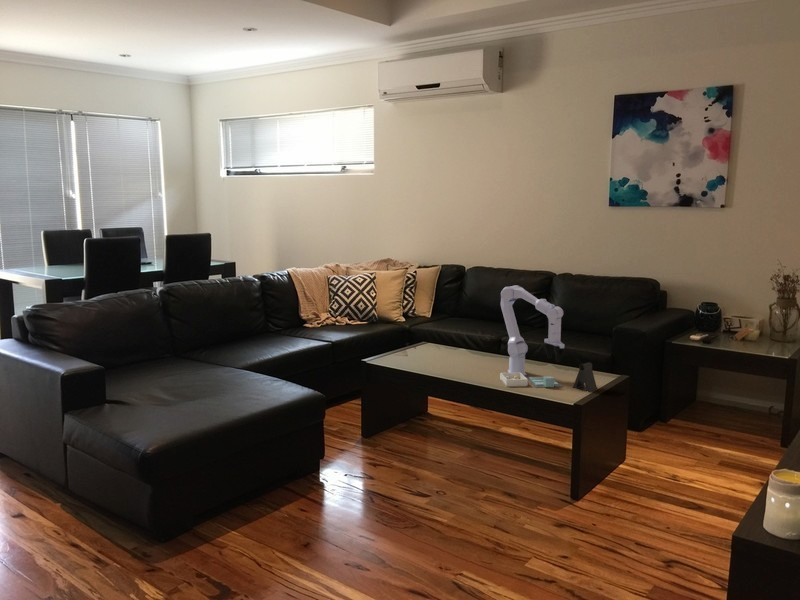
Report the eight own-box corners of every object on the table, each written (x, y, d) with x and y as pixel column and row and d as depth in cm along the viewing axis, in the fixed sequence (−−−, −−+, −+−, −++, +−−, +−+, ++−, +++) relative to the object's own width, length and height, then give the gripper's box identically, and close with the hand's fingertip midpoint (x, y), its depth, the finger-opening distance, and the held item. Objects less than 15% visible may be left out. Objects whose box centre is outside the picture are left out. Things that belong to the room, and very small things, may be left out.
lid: (528, 377, 328) (528, 369, 327) (550, 377, 328) (550, 369, 328) (538, 387, 311) (538, 378, 310) (560, 386, 312) (561, 378, 311)
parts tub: (500, 379, 326) (500, 372, 326) (520, 378, 327) (520, 372, 327) (506, 386, 314) (506, 379, 313) (527, 386, 314) (527, 379, 314)
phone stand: (572, 388, 311) (573, 362, 309) (580, 385, 315) (581, 360, 313) (589, 392, 304) (590, 366, 302) (597, 389, 308) (598, 364, 306)
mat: (525, 377, 329) (525, 377, 329) (551, 377, 330) (551, 376, 330) (535, 387, 312) (535, 387, 312) (563, 386, 313) (563, 386, 313)
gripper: (539, 330, 326) (538, 357, 328) (555, 335, 313) (554, 364, 315) (551, 329, 329) (551, 356, 331) (568, 334, 315) (567, 362, 317)
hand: (553, 360), depth 323 cm, fingers open, 7 cm apart
